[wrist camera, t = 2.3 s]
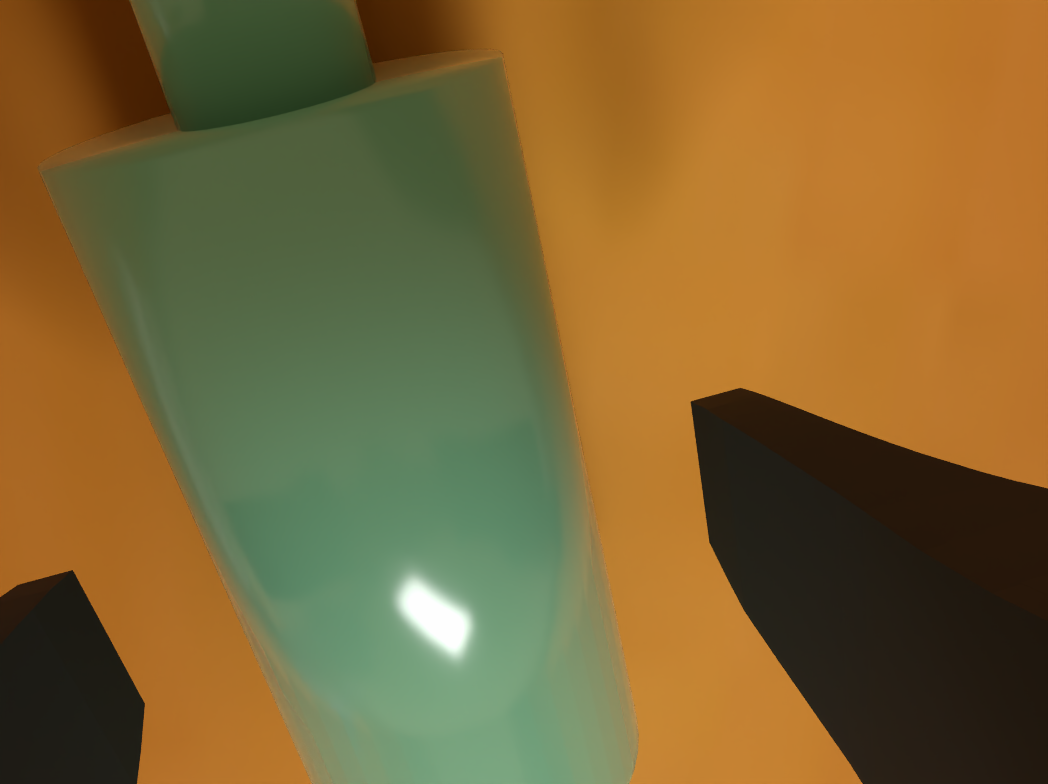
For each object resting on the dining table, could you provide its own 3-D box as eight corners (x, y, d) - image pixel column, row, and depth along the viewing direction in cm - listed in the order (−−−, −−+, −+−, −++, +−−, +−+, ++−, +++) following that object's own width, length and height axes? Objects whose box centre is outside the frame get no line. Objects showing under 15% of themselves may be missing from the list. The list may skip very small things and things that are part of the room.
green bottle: (594, 604, 17) (683, 835, 12) (330, 679, 16) (321, 945, 12) (403, -282, 11) (444, -479, 6) (-23, -193, 10) (-314, -331, 6)
